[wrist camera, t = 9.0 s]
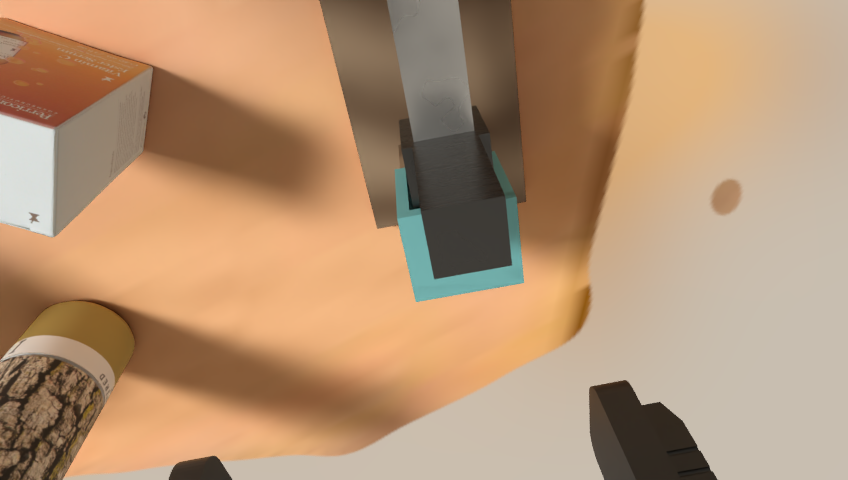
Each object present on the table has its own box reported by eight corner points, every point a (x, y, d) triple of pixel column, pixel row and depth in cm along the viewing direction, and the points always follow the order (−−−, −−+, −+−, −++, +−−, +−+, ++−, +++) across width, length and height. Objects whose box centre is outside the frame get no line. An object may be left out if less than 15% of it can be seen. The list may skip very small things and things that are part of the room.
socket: (394, 169, 29) (397, 218, 25) (494, 150, 29) (516, 197, 24) (410, 244, 32) (416, 302, 27) (502, 227, 32) (523, 282, 27)
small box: (156, 65, 30) (61, 129, 21) (145, 152, 33) (57, 242, 24) (-2, 12, 28) (-180, 58, 19) (-1, 109, 31) (-156, 189, 22)
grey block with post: (333, -205, 20) (298, -291, 12) (436, -227, 20) (476, -329, 12) (419, 220, 30) (433, 339, 22) (488, 207, 30) (530, 322, 22)
